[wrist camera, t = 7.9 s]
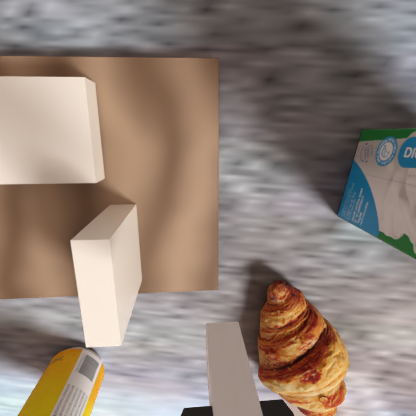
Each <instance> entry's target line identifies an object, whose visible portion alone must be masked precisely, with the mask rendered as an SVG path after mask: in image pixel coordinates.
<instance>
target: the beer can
mask: <svg viewBox="0 0 416 416" xmlns="http://www.w3.org/2000/svg"><path fill="white" fill-rule="evenodd" d="M103 377H104V366H103V363H102V362H101V359H100V358H99V356H98V355H97V354H96V353H95V352H94V351H92V350H90V349H88V348H84V347H73V348H69V349H67V350H63V351H61V352H59V353H58V354H56V355H55V356H54V357H53V359H52V360H51V362H50V363H49V365H48V367H47V368H46V370H45V372H44V373H43V375H42V376H41V378H40V380H39V381H38V383H37V385H36V386H35V388H34V390H33V391H32V393H31V395H30V396H29V398H28V399H27V401H26V403H25V404H24V406H23V408H22V409H21V411H20V413H19V414H18V416H90V414H91V411H92V408H93V405H94V402H95V400H96V397H97V394H98V391H99V388H100V385H101V383H102V380H103Z"/></svg>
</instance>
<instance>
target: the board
mask: <svg viewBox="0 0 416 416" xmlns="http://www.w3.org/2000/svg"><path fill="white" fill-rule="evenodd" d="M0 76H18V77H85V78H87V79H89V80H91V81H93V82H94V83H95V87H96V97H97V106H98V116H99V126H100V136H101V146H102V155H103V165H104V175H105V179H103V180H101V181H99V182H97V183H64V184H0V299H14V298H38V297H61V296H78V291H77V284H76V277H75V271H74V264H73V257H72V250H71V242H70V240H71V239H73V238H74V237H75V236H76V235H77V234H78V233H79V232H80V231H81V230H83V229H84V228H85V227H86V226H87V225H88V224H89V223H90V222H92V221H93V220H94V219H95V218H96V217H97V216H98V215H99V214H100V213H102V212H103V211H104V210H105V209H106V208H107V207H108V206H109V205H116V204H136V208H137V220H138V233H139V246H140V259H141V272H142V282H141V285H140V288H139V291H138V293H155V292H179V291H202V290H218V188H219V58H147V57H51V56H0Z"/></svg>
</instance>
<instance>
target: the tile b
mask: <svg viewBox="0 0 416 416" xmlns="http://www.w3.org/2000/svg"><path fill="white" fill-rule="evenodd" d="M70 242H71V250H72V257H73V264H74V271H75V277H76V284H77V291H78V298H79V304H80V311H81V318H82V325H83V332H84V338H85V343H86V347H104V346H121V344H122V341H123V338H124V335H125V332H126V329H127V325H128V322H129V319H130V316H131V313H132V310H133V307H134V304H135V301H136V297H137V294H138V291H139V288H140V285H141V282H142V272H141V259H140V246H139V233H138V220H137V208H136V204H116V205H109V206H108V207H107V208H106V209H105V210H104V211H103V212H102V213H100V214H99V215H98V216H97V217H96V218H95V219H94V220H93V221H92V222H90V223H89V224H88V225H87V226H86V227H85V228H84V229H83V230H81V231H80V232H79V233H78V234H77V235H76V236H75V237H74V238H73V239H71V240H70Z"/></svg>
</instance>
